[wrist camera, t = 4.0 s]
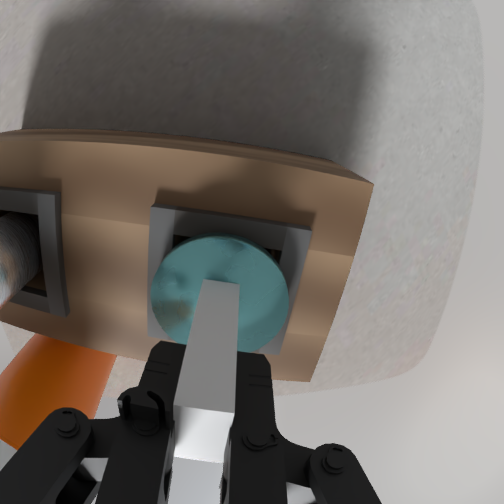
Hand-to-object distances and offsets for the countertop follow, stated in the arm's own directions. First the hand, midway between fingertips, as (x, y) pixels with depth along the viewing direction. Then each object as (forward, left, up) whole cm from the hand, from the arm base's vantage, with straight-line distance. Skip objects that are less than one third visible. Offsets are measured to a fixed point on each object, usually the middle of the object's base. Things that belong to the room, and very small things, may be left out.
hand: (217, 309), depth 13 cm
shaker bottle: (+12, -12, -10) cm, 20 cm away
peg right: (0, 0, -10) cm, 10 cm away
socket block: (0, -6, -10) cm, 12 cm away
